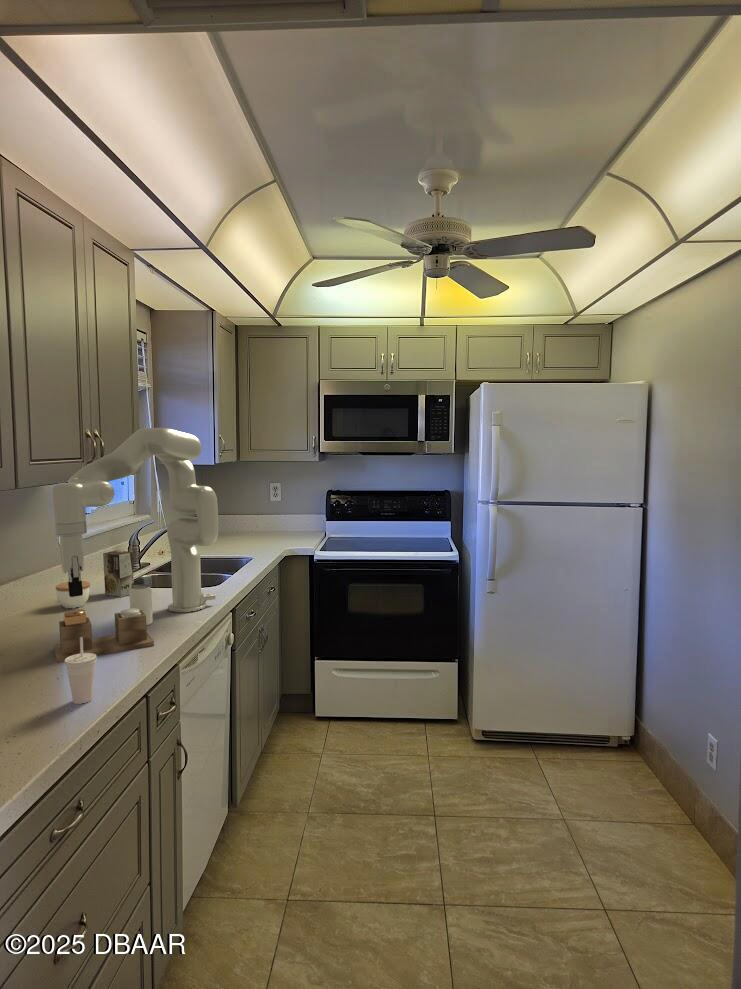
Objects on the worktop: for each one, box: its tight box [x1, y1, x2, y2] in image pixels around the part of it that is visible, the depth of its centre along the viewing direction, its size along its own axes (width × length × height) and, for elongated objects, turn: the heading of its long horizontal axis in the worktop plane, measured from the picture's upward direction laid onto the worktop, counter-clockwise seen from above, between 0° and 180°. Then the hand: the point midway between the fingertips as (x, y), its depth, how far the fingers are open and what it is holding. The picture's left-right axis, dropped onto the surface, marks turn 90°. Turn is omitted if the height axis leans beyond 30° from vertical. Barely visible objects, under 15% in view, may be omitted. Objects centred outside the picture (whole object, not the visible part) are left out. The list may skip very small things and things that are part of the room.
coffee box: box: [102, 550, 135, 598], centre depth 221 cm, size 9×6×16 cm
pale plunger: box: [118, 608, 141, 618], centre depth 166 cm, size 5×5×8 cm
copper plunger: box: [63, 608, 87, 627], centre depth 159 cm, size 5×5×8 cm
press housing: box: [53, 610, 155, 663], centre depth 163 cm, size 24×12×8 cm, turn 122°
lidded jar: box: [55, 580, 91, 609], centre depth 205 cm, size 11×11×9 cm
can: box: [129, 584, 154, 627], centre depth 184 cm, size 6×6×12 cm
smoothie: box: [64, 637, 98, 705], centre depth 128 cm, size 6×6×14 cm
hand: (76, 595), depth 159 cm, fingers closed
